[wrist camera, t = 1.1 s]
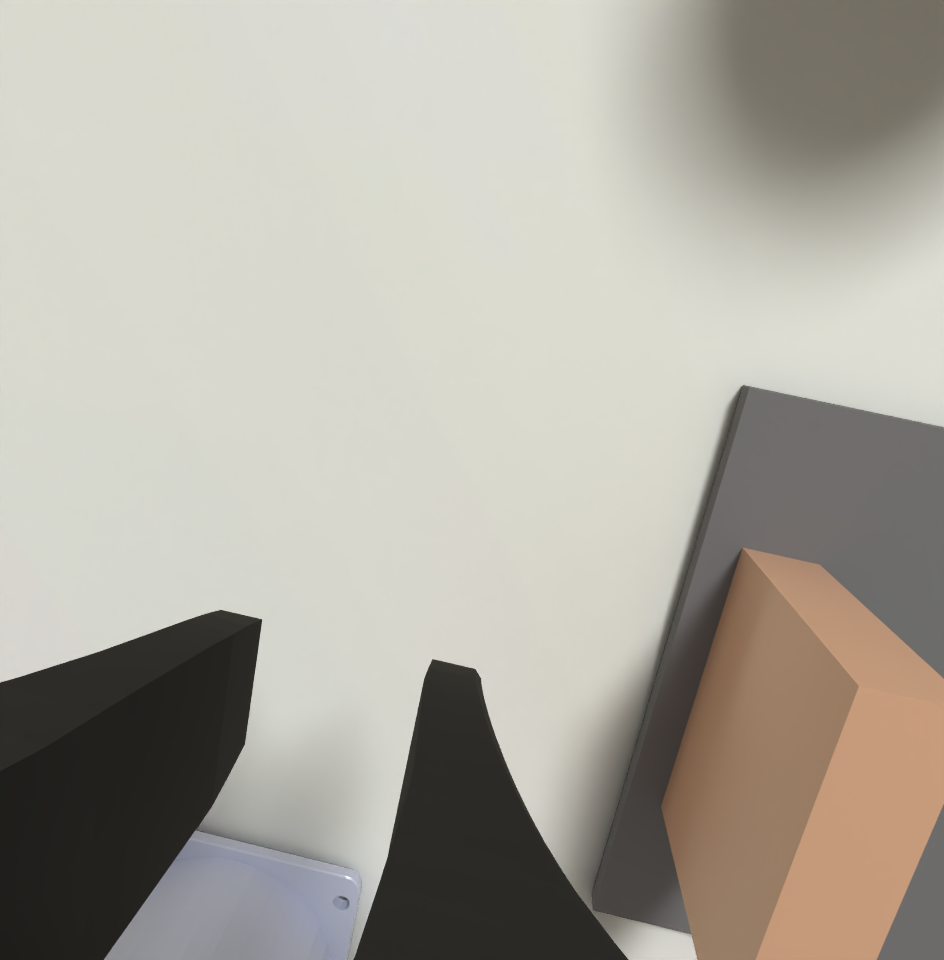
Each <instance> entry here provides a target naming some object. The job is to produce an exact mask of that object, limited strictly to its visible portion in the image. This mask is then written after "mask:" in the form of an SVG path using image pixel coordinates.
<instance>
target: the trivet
mask: <svg viewBox="0 0 944 960" xmlns="http://www.w3.org/2000/svg"><path fill="white" fill-rule="evenodd" d="M742 548H747V549H751V550H756V551H760V552H765V553H769V554H774V555H778V556H783V557H787V558H792V559H796V560H801V561H806V562H810V563H815V564H819V565H821V566H822V567H823V568H824V569H825V570H826V571H827V572H828V573H829V574H830V575H832V576H833V577H834V578H835V579H836V580H837V581H838V582H839V583H840V584H841V585H842V586H844V587H845V588H846V589H847V590H848V591H849V592H850V593H851V594H852V595H853V596H854V597H855V598H857V599H858V600H859V601H860V602H861V603H862V604H863V605H864V606H865V607H866V608H867V609H869V610H870V611H871V612H872V613H873V614H874V615H875V616H876V617H877V618H878V619H879V620H880V621H882V622H883V623H884V624H885V625H886V626H887V627H888V628H889V629H890V630H891V631H892V632H893V633H895V634H896V635H897V636H898V637H899V638H900V639H901V640H902V641H903V642H904V643H905V644H907V645H908V646H909V647H910V648H911V649H912V650H913V651H914V652H915V653H916V654H917V655H918V656H920V657H921V658H922V659H923V660H924V661H925V662H926V663H927V664H928V665H929V666H930V667H932V668H933V669H934V670H935V671H936V672H937V673H938V674H939V675H940V676H941V677H942V678H943V679H944V427H940V426H935V425H930V424H925V423H921V422H916V421H911V420H906V419H902V418H897V417H892V416H887V415H883V414H878V413H873V412H868V411H864V410H859V409H854V408H849V407H845V406H840V405H835V404H830V403H826V402H821V401H816V400H811V399H807V398H802V397H797V396H792V395H788V394H783V393H778V392H773V391H769V390H764V389H759V388H755V387H750V386H745V385H743V386H742V390H741V393H740V396H739V400H738V403H737V407H736V410H735V413H734V417H733V420H732V423H731V427H730V430H729V434H728V437H727V440H726V444H725V447H724V450H723V454H722V457H721V460H720V464H719V467H718V471H717V474H716V477H715V481H714V484H713V487H712V491H711V494H710V498H709V501H708V504H707V508H706V511H705V514H704V518H703V521H702V524H701V528H700V531H699V535H698V538H697V541H696V545H695V548H694V551H693V555H692V558H691V562H690V565H689V568H688V572H687V575H686V578H685V582H684V585H683V588H682V592H681V595H680V599H679V602H678V605H677V609H676V612H675V615H674V619H673V622H672V626H671V629H670V632H669V636H668V639H667V642H666V646H665V649H664V652H663V656H662V659H661V663H660V666H659V669H658V673H657V676H656V679H655V683H654V686H653V690H652V693H651V696H650V700H649V703H648V706H647V710H646V713H645V716H644V720H643V723H642V727H641V730H640V733H639V737H638V740H637V743H636V747H635V750H634V754H633V757H632V760H631V764H630V767H629V770H628V774H627V777H626V780H625V784H624V787H623V791H622V794H621V797H620V801H619V804H618V807H617V811H616V814H615V818H614V821H613V824H612V828H611V831H610V834H609V838H608V841H607V844H606V848H605V851H604V855H603V858H602V861H601V865H600V868H599V871H598V875H597V878H596V882H595V885H594V888H593V892H592V903H593V910H595V911H599V912H603V913H607V914H611V915H615V916H619V917H623V918H627V919H631V920H636V921H640V922H644V923H648V924H652V925H656V926H660V927H664V928H668V929H672V930H676V931H680V932H684V933H688V934H691V930H690V926H689V922H688V918H687V913H686V909H685V905H684V901H683V897H682V892H681V888H680V884H679V880H678V876H677V872H676V867H675V863H674V859H673V855H672V851H671V846H670V842H669V838H668V834H667V830H666V825H665V821H664V817H663V813H662V809H661V805H662V802H663V799H664V795H665V792H666V789H667V786H668V783H669V780H670V776H671V773H672V770H673V767H674V764H675V760H676V757H677V754H678V751H679V748H680V745H681V741H682V738H683V735H684V732H685V729H686V726H687V722H688V719H689V716H690V713H691V710H692V706H693V703H694V700H695V697H696V694H697V691H698V687H699V684H700V681H701V678H702V675H703V672H704V668H705V665H706V662H707V659H708V656H709V652H710V649H711V646H712V643H713V640H714V637H715V633H716V630H717V627H718V624H719V621H720V618H721V614H722V611H723V608H724V605H725V602H726V598H727V595H728V592H729V589H730V586H731V583H732V579H733V576H734V573H735V570H736V567H737V563H738V560H739V557H740V554H741V551H742ZM877 960H944V804H943V807H942V809H941V811H940V814H939V816H938V818H937V821H936V823H935V825H934V828H933V830H932V832H931V835H930V837H929V839H928V842H927V844H926V846H925V849H924V851H923V853H922V856H921V858H920V860H919V862H918V865H917V867H916V869H915V872H914V874H913V876H912V879H911V881H910V883H909V886H908V888H907V890H906V893H905V895H904V897H903V900H902V902H901V904H900V907H899V909H898V911H897V914H896V916H895V918H894V920H893V923H892V925H891V927H890V930H889V932H888V934H887V937H886V939H885V941H884V944H883V946H882V948H881V951H880V953H879V955H878V958H877Z"/></svg>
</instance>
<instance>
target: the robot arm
mask: <svg viewBox="0 0 944 960" xmlns="http://www.w3.org/2000/svg"><path fill="white" fill-rule="evenodd" d="M261 624H262V619H258V618H253V617H249V616H245V615H240V614H236V613H232V612H228V611H223V610H219V611H215V612H211V613H207V614H204V615H201V616H198V617H195V618H192V619H189V620H186V621H183V622H181V623H178V624H175V625H172V626H169V627H167V628H164V629H161V630H158V631H156V632H153V633H150V634H147V635H145V636H142V637H139V638H136V639H134V640H131V641H128V642H125V643H122V644H120V645H117V646H114V647H111V648H108V649H106V650H103V651H100V652H97V653H94V654H91V655H88V656H85V657H82V658H78V659H75V660H72V661H69V662H66V663H63V664H59V665H56V666H53V667H50V668H47V669H44V670H41V671H37V672H34V673H31V674H28V675H25V676H22V677H18V678H15V679H11V680H8V681H4V682H1V683H0V960H347V959H348V954H349V949H350V944H351V939H352V934H353V929H354V924H355V919H356V914H357V909H358V904H359V899H360V894H361V889H362V879H361V877H360V875H359V874H358V873H357V872H356V871H354V870H352V869H349V868H345V867H341V866H337V865H333V864H329V863H325V862H321V861H317V860H313V859H309V858H305V857H301V856H297V855H293V854H289V853H285V852H281V851H277V850H273V849H268V848H264V847H260V846H256V845H252V844H248V843H244V842H240V841H236V840H232V839H228V838H224V837H220V836H216V835H212V834H208V833H204V832H200V831H196V829H197V827H198V826H199V824H200V823H201V822H202V820H203V819H204V817H205V816H206V814H207V813H208V811H209V810H210V808H211V807H212V805H213V803H214V802H215V800H216V798H217V796H218V794H219V792H220V791H221V789H222V787H223V785H224V783H225V781H226V780H227V778H228V776H229V774H230V772H231V770H232V768H233V766H234V764H235V762H236V760H237V758H238V756H239V754H240V753H241V751H242V749H243V747H244V745H245V739H246V732H247V725H248V718H249V710H250V703H251V696H252V689H253V682H254V675H255V667H256V660H257V653H258V646H259V639H260V631H261ZM338 896H343V897H345V898H347V899H348V900H343V899H341V898H339V897H338ZM354 960H628V959H627V957H626V956H625V955H624V954H623V952H622V951H621V950H620V949H619V948H618V946H617V945H616V944H615V943H614V941H613V940H612V939H611V937H610V936H609V935H608V933H607V932H606V931H605V930H604V928H603V927H602V926H601V924H600V923H599V922H598V920H597V919H596V918H595V916H594V915H593V914H592V912H591V911H590V910H589V908H588V907H587V906H586V905H585V903H584V902H583V901H582V899H581V898H580V897H579V895H578V894H577V892H576V891H575V889H574V888H573V886H572V885H571V884H570V882H569V881H568V879H567V878H566V876H565V875H564V873H563V872H562V870H561V868H560V867H559V865H558V863H557V862H556V860H555V858H554V857H553V855H552V853H551V852H550V850H549V848H548V847H547V845H546V844H545V842H544V840H543V838H542V836H541V835H540V833H539V831H538V829H537V827H536V826H535V824H534V822H533V820H532V818H531V816H530V814H529V812H528V810H527V808H526V806H525V804H524V802H523V800H522V798H521V796H520V794H519V792H518V790H517V788H516V785H515V783H514V781H513V779H512V776H511V774H510V772H509V769H508V767H507V765H506V762H505V760H504V757H503V754H502V752H501V749H500V747H499V744H498V741H497V739H496V736H495V733H494V730H493V727H492V724H491V721H490V718H489V715H488V711H487V708H486V704H485V700H484V696H483V691H482V685H481V678H480V676H479V674H478V673H477V671H476V670H475V669H473V668H468V667H464V666H460V665H455V664H451V663H447V662H442V661H438V660H434V659H432V662H431V664H430V666H429V668H428V671H427V673H426V676H425V678H424V683H423V688H422V693H421V697H420V702H419V707H418V712H417V717H416V722H415V727H414V731H413V736H412V741H411V746H410V751H409V756H408V761H407V765H406V770H405V775H404V780H403V785H402V790H401V794H400V799H399V804H398V809H397V814H396V819H395V824H394V828H393V833H392V838H391V843H390V848H389V853H388V858H387V861H386V864H385V867H384V870H383V874H382V877H381V880H380V883H379V886H378V889H377V892H376V895H375V898H374V901H373V904H372V907H371V910H370V913H369V916H368V919H367V922H366V925H365V928H364V931H363V934H362V937H361V940H360V943H359V946H358V949H357V952H356V955H355V958H354Z"/></svg>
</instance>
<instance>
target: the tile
mask: <svg viewBox="0 0 944 960" xmlns="http://www.w3.org/2000/svg"><path fill="white" fill-rule="evenodd" d="M943 804H944V679H943V678H942V677H941V676H940V675H939V674H938V673H937V672H936V671H935V670H934V669H933V668H932V667H930V666H929V665H928V664H927V663H926V662H925V661H924V660H923V659H922V658H921V657H920V656H918V655H917V654H916V653H915V652H914V651H913V650H912V649H911V648H910V647H909V646H908V645H907V644H905V643H904V642H903V641H902V640H901V639H900V638H899V637H898V636H897V635H896V634H895V633H893V632H892V631H891V630H890V629H889V628H888V627H887V626H886V625H885V624H884V623H883V622H882V621H880V620H879V619H878V618H877V617H876V616H875V615H874V614H873V613H872V612H871V611H870V610H869V609H867V608H866V607H865V606H864V605H863V604H862V603H861V602H860V601H859V600H858V599H857V598H855V597H854V596H853V595H852V594H851V593H850V592H849V591H848V590H847V589H846V588H845V587H844V586H842V585H841V584H840V583H839V582H838V581H837V580H836V579H835V578H834V577H833V576H832V575H830V574H829V573H828V572H827V571H826V570H825V569H824V568H823V567H822V566H821V565H819V564H815V563H810V562H806V561H801V560H796V559H792V558H787V557H783V556H778V555H774V554H769V553H765V552H760V551H756V550H751V549H747V548H742V551H741V554H740V557H739V560H738V563H737V567H736V570H735V573H734V576H733V579H732V583H731V586H730V589H729V592H728V595H727V598H726V602H725V605H724V608H723V611H722V614H721V618H720V621H719V624H718V627H717V630H716V633H715V637H714V640H713V643H712V646H711V649H710V652H709V656H708V659H707V662H706V665H705V668H704V672H703V675H702V678H701V681H700V684H699V687H698V691H697V694H696V697H695V700H694V703H693V706H692V710H691V713H690V716H689V719H688V722H687V726H686V729H685V732H684V735H683V738H682V741H681V745H680V748H679V751H678V754H677V757H676V760H675V764H674V767H673V770H672V773H671V776H670V780H669V783H668V786H667V789H666V792H665V795H664V799H663V802H662V805H661V809H662V813H663V817H664V821H665V825H666V830H667V834H668V838H669V842H670V846H671V851H672V855H673V859H674V863H675V867H676V872H677V876H678V880H679V884H680V888H681V892H682V897H683V901H684V905H685V909H686V913H687V918H688V922H689V926H690V930H691V934H692V939H693V943H694V947H695V951H696V955H697V960H877V958H878V955H879V953H880V951H881V948H882V946H883V944H884V941H885V939H886V937H887V934H888V932H889V930H890V927H891V925H892V923H893V920H894V918H895V916H896V914H897V911H898V909H899V907H900V904H901V902H902V900H903V897H904V895H905V893H906V890H907V888H908V886H909V883H910V881H911V879H912V876H913V874H914V872H915V869H916V867H917V865H918V862H919V860H920V858H921V856H922V853H923V851H924V849H925V846H926V844H927V842H928V839H929V837H930V835H931V832H932V830H933V828H934V825H935V823H936V821H937V818H938V816H939V814H940V811H941V809H942V807H943Z"/></svg>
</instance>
